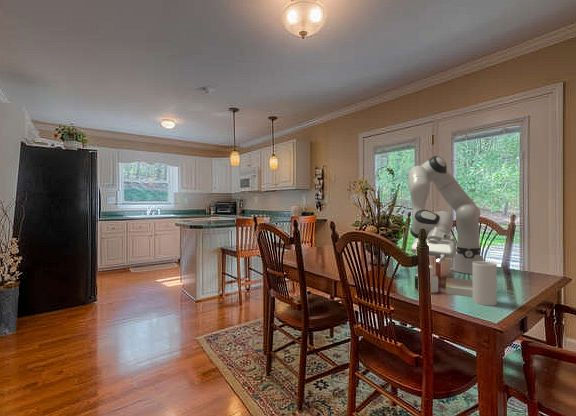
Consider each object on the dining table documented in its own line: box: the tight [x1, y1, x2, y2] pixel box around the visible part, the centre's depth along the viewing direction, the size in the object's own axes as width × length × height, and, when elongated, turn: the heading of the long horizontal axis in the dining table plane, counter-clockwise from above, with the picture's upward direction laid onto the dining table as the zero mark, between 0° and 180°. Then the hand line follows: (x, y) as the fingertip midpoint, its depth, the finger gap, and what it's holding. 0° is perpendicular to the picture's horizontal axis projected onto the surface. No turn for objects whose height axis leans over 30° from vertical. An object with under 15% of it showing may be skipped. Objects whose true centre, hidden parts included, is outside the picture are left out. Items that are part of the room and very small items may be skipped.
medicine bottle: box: [414, 264, 439, 294], centre depth 139 cm, size 7×7×12 cm
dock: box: [445, 276, 473, 298], centre depth 140 cm, size 18×12×3 cm, turn 152°
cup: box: [472, 260, 498, 307], centre depth 123 cm, size 8×8×16 cm
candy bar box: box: [381, 252, 394, 277], centre depth 168 cm, size 11×5×16 cm, turn 168°
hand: (427, 261), depth 142 cm, fingers open, 8 cm apart
